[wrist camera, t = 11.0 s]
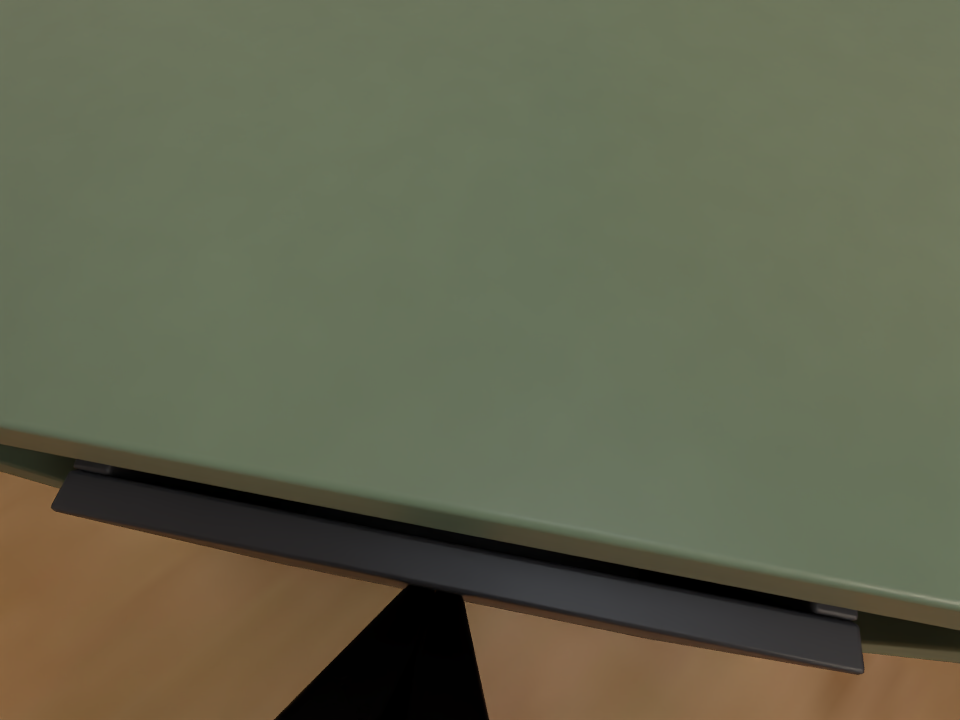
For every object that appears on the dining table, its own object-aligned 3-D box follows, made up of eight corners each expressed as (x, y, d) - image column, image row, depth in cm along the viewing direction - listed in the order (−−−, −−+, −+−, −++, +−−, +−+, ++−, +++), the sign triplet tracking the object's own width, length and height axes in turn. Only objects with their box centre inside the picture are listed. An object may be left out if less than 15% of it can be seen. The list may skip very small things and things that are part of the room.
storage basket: (651, 639, 14) (868, 676, 6) (276, 562, 15) (45, 509, 7) (663, 285, 20) (791, 55, 11) (382, 244, 20) (318, 4, 12)
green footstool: (751, 640, 14) (1619, 737, 3) (196, 528, 16) (-459, 339, 5) (735, 224, 21) (1018, -207, 10) (342, 170, 22) (205, -260, 11)
